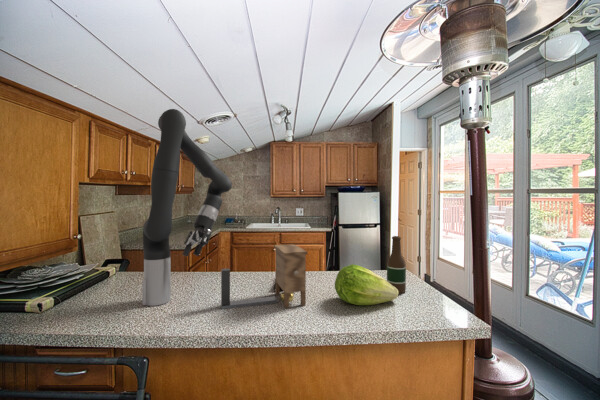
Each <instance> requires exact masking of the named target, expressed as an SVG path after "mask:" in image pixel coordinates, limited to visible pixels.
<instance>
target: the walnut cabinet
mask: <svg viewBox="0 0 600 400" xmlns="http://www.w3.org/2000/svg"><path fill="white" fill-rule="evenodd" d="M273 248H274V249H275V282H276V287H275V289H274V290H275V292H274V294H275V295H276V296H277V295H281V291H280V287H281V288H282V290H283V291H282V292H284V302H283V307H284V309H289V308H290V302H289V293H293V294H295V293H299V292H300V305H301V307H303V306H304V307H305V306H306V298H307V297H306V292H307V291H306V288H307V287H306V282H307V281H306V278H307V277H306V275H307V273H306V271H307V270H306V269H307V268H306V267H307V266H306V265H307V264H306V263H307V260H306V259H307V258H306V257H307V256H306V255H308V250H305V249H304V248H303V247H300V246H298V245H296V244H290V243H289V244H275V245H274V246H273Z"/></svg>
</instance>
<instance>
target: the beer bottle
mask: <svg viewBox="0 0 600 400" xmlns="http://www.w3.org/2000/svg"><path fill="white" fill-rule="evenodd" d="M391 239H392V241H391V242H392V243H391V244H392V245H391V253H390V256H388V258H387V260H386V281H387V282H389V283H390V284H391V285H392V286H394V287H395V288H396V289H398V295H403V294H405V293H406V291H407V290H406V289H407V281H406V280H407V279H406V278H407V276H406V275H407V266H406V265H407V263H406V260H405V258H404V257H403V255H402V249H401V248H402V246H401V245H402V243H401V240H402V237H401V236H399V235H393V236H392V237H391Z"/></svg>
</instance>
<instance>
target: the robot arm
mask: <svg viewBox="0 0 600 400" xmlns="http://www.w3.org/2000/svg"><path fill="white" fill-rule="evenodd" d="M186 124H187V120H186V117H185V115H184V114H183V113H182V112H181V111H180V110H178V109H175V108H169V109H166V110H165V111H163V112H162V114H160V116H159V118H158V122H157V125H158V128H159V130H160V142H159V146H158V148H157V152H156V155H155V158H154V161H153V166H152V172H151V177H150V179H151V180H150V194H151V195H150V196H151V206H150V210H149V215H148V216H149V217H148V219H146V220H145V222H144V224H143V227H142V249H143V250H142V251H143V279H142V284H141V285H142V286H141V288H142V290H141V291H142V296H141V297H142V306H148V307H152V306H153V307H154V306H161V305H164V304H168V303H169V302H170V301H171V292H172V291H171V285H172V284H171V281H172V280H171V279H172V278H171V270H172V269H171V268H172V267H171V265H172V264H171V246H170V235H171V233H172V229H173V205H174V200H175V196H176V191H177V187H178V180H179V172H180V161H181V151H182V153H183V154H184V156H186V157H187V158H188V159H189V161H190V162H191V163H192V165H193V166H194V167H195V168H196V169H197V171H198V172H199V173H200V175H202V177H203V178H206V179H210V180H211V181H210V183H209V185H208V188H207V191H206V196H205V197H206V198H205V199H204V201H203V204H202V206H201V208H200V209H199V211H198V214H197V215H196V218H195V220H194V222H193V224H192V225H193V227H194V230H193V231H192V230H190V231H189V232H188V235H187V236H186V239H185V241H184V243H183V244H184V245H185V247H184V250H183V252H182V256H184V257H188V256H189V255H190V253H191V250H192V248H193V246H194V245H196V246H195V248H194V251H193V255H194V256H197V257H199V256H200V254H201V252H202V249H203V247H205V246H207V245H208V243H209V242H210V239H211V236H212V233H213V227H214V225H215V223H216V220H217V218H218V216H219V215H218V214H219V212H220V210H221V206H222V204H223V199H222V198H221V196H222V194H224V193H227V192H229V191H231V189H232V186H233V184H232V180H231V179H230V177H229V176H228V175H227V174H226V173H224V171H222V170H221V169H220V168H219V167H217V165H216V164H215V162H213V160H212V159H211V157H209V155H207V153H206V152H205V151H204V150H203V149H202V148H201V147H199V145H197V144H196V143H195V142H194V141H193V140H192V138H191V137H189V135H188V134H187V132H186V126H187V125H186Z"/></svg>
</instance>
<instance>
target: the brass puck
mask: <svg viewBox="0 0 600 400" xmlns="http://www.w3.org/2000/svg"><path fill="white" fill-rule="evenodd" d="M280 301H281V302H283V303H284V291H281V292H280ZM293 301H294V293H289V303H290V302H293Z"/></svg>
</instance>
